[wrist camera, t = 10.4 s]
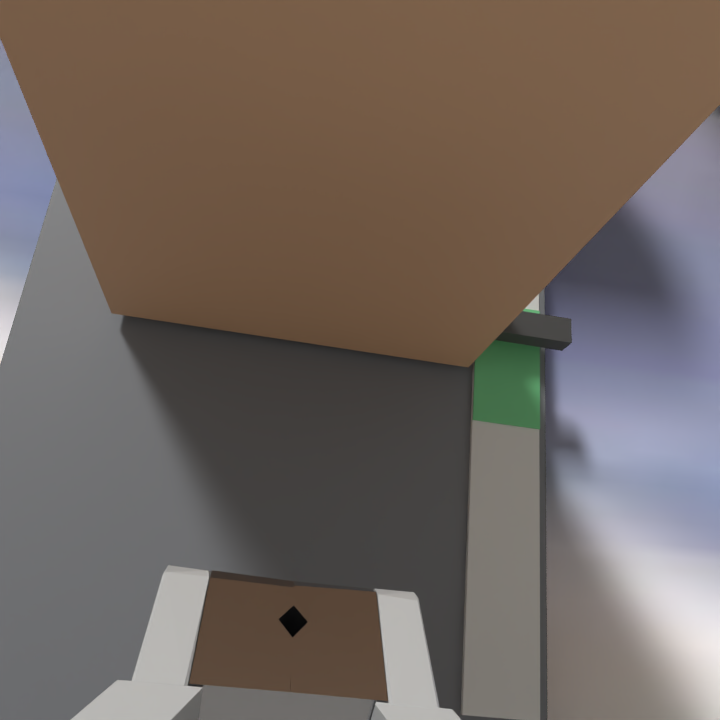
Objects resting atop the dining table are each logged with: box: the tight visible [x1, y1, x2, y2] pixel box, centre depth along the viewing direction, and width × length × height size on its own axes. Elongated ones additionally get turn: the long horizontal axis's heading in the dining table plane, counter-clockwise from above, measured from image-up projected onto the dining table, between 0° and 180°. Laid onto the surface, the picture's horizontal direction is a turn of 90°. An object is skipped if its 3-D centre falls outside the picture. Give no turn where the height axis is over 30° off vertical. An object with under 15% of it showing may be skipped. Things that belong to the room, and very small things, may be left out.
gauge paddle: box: [0, 0, 720, 367], centre depth 11 cm, size 2×10×10 cm, turn 85°
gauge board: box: [0, 179, 547, 720], centre depth 13 cm, size 24×12×10 cm, turn 175°
